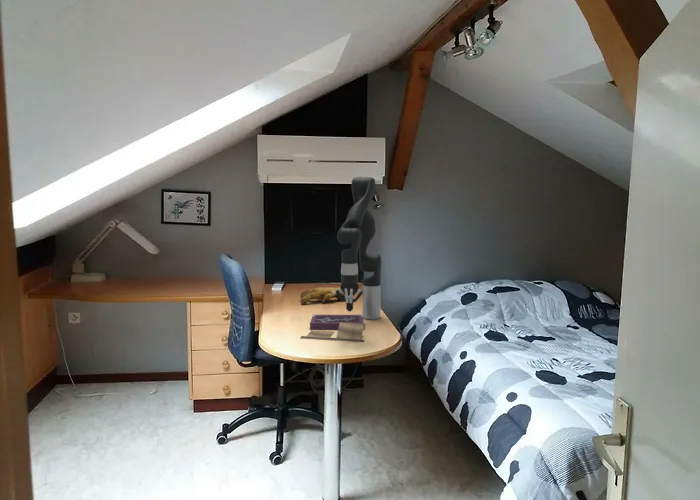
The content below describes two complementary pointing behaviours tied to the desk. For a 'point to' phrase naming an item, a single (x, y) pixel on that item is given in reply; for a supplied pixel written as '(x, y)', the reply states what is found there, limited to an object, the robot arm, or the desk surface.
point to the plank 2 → (350, 330)
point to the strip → (332, 339)
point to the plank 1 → (320, 333)
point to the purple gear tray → (333, 321)
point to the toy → (319, 294)
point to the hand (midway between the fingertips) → (349, 310)
